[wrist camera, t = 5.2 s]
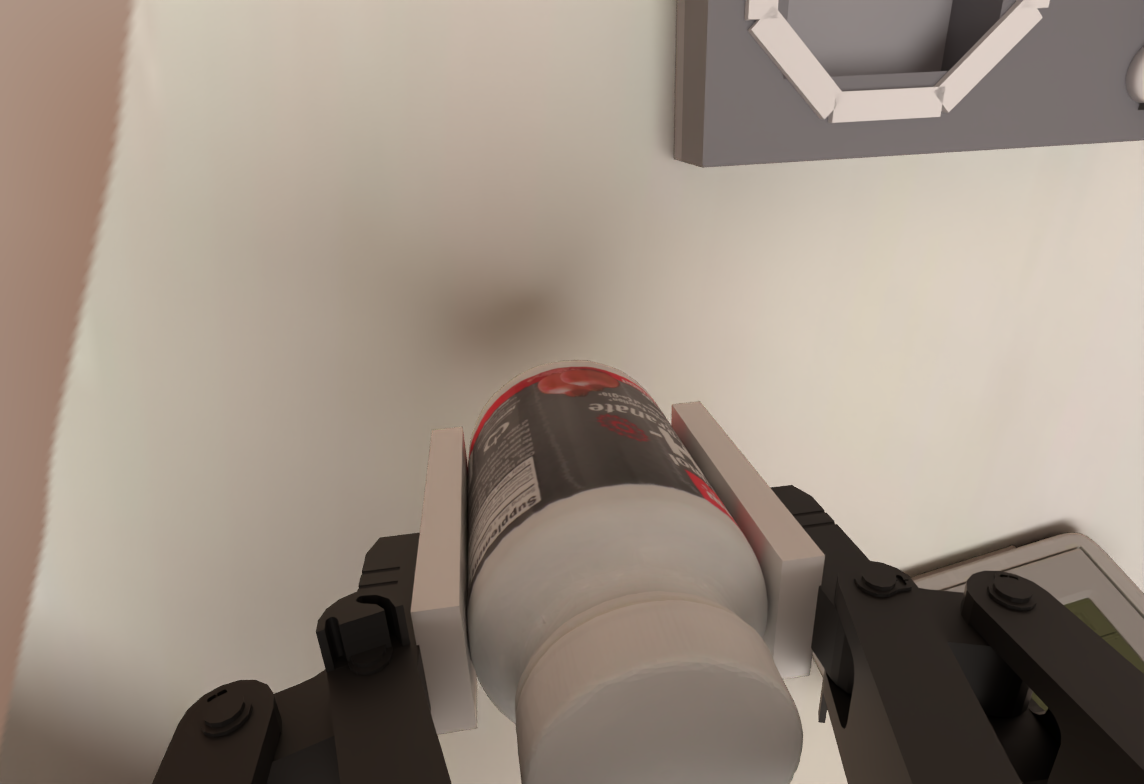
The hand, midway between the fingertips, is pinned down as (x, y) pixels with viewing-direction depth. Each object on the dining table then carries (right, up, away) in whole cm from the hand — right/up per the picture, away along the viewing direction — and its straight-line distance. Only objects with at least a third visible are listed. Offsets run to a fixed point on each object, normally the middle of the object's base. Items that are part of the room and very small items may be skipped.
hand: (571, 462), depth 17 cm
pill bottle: (0, 0, +1) cm, 1 cm away
